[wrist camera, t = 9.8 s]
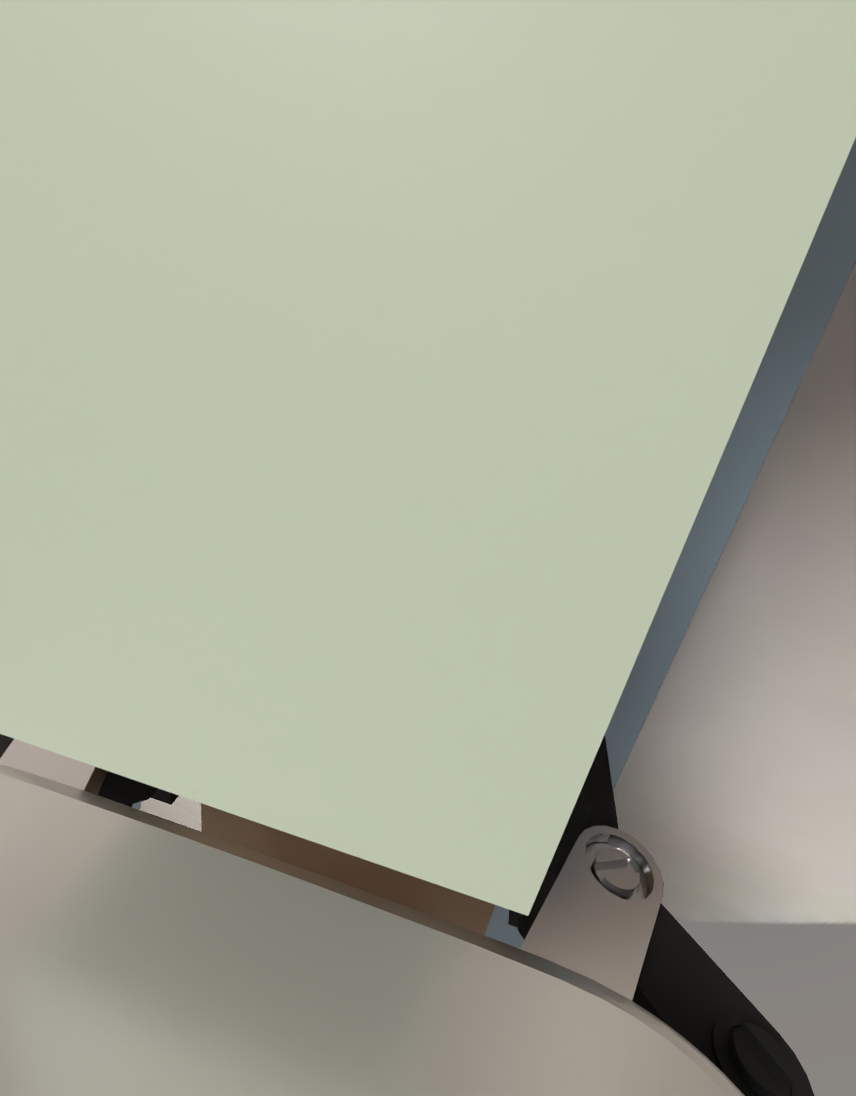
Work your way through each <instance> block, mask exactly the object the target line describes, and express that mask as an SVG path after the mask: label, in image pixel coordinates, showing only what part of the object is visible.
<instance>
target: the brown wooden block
mask: <svg viewBox="0 0 856 1096" xmlns="http://www.w3.org/2000/svg"><path fill="white" fill-rule="evenodd" d="M201 818H202V832H203V833H206V834H208V835H211V836H214V837H217V838H220V839H222V840H225V841H228V842H231V843H233V844H236V845H239V846H242V847H245V848H247V849H250V850H253V851H256V852H259V853H261V854H264V855H267V856H270V857H272V858H275V859H278V860H281V861H284V862H286V863H289V864H292V865H295V866H297V867H300V868H303V869H306V870H308V871H311V872H314V873H317V874H320V875H322V876H325V877H328V878H331V879H333V880H336V881H339V882H342V883H344V884H347V885H350V886H353V887H355V888H358V889H361V890H363V891H366V892H369V893H372V894H374V895H377V896H380V897H383V898H385V899H388V900H391V901H393V902H396V903H399V904H402V905H404V906H407V907H410V908H413V909H415V910H418V911H421V912H423V913H426V914H429V915H432V916H434V917H437V918H440V919H443V920H445V921H448V922H451V923H453V924H456V925H459V926H462V927H464V928H467V929H470V930H472V931H475V932H477V933H480V934H482V935H485V932H486V929H487V927H488V924H489V922H490V919H491V916H492V914H493V911H494V908H495V906H496V905H495V904H492V903H489V902H486V901H483V900H480V899H477V898H474V897H472V896H469V895H466V894H463V893H460V892H457V891H454V890H451V889H448V888H445V887H443V886H440V885H437V884H434V883H431V882H428V881H425V880H422V879H419V878H417V877H414V876H411V875H408V874H405V873H402V872H399V871H396V870H393V869H390V868H388V867H385V866H382V865H379V864H376V863H373V862H370V861H367V860H364V859H361V858H359V857H356V856H353V855H350V854H347V853H344V852H341V851H338V850H335V849H333V848H330V847H327V846H324V845H321V844H318V843H315V842H312V841H309V840H306V839H304V838H301V837H298V836H295V835H292V834H289V833H286V832H283V831H280V830H277V829H275V828H272V827H269V826H266V825H263V824H260V823H257V822H254V821H251V820H249V819H246V818H243V817H240V816H237V815H234V814H231V813H228V812H225V811H222V810H220V809H217V808H214V807H211V806H208V805H205V804H202V803H201Z"/></svg>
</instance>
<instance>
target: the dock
mask: <svg viewBox="0 0 856 1096" xmlns="http://www.w3.org/2000/svg"><path fill="white" fill-rule="evenodd" d="M855 262H856V138H855V140H854V143H853V145H852V147H851V150H850V152H849V155H848V157H847V159H846V162H845V164H844V166H843V169H842V171H841V174H840V176H839V178H838V181H837V183H836V185H835V188H834V190H833V193H832V195H831V197H830V200H829V202H828V204H827V207H826V209H825V212H824V214H823V216H822V219H821V221H820V223H819V226H818V228H817V231H816V233H815V235H814V238H813V240H812V243H811V245H810V247H809V250H808V252H807V254H806V257H805V259H804V262H803V264H802V266H801V269H800V271H799V273H798V276H797V278H796V281H795V283H794V285H793V288H792V290H791V292H790V295H789V297H788V300H787V302H786V304H785V307H784V309H783V311H782V314H781V316H780V319H779V321H778V323H777V326H776V328H775V330H774V333H773V335H772V338H771V340H770V342H769V345H768V347H767V350H766V352H765V354H764V357H763V359H762V361H761V364H760V366H759V369H758V371H757V373H756V376H755V378H754V380H753V383H752V385H751V388H750V390H749V392H748V395H747V397H746V399H745V402H744V404H743V407H742V409H741V411H740V414H739V416H738V418H737V421H736V423H735V426H734V428H733V430H732V433H731V435H730V437H729V440H728V442H727V445H726V447H725V449H724V452H723V454H722V456H721V459H720V461H719V464H718V466H717V468H716V471H715V473H714V476H713V478H712V480H711V483H710V485H709V487H708V490H707V492H706V495H705V497H704V499H703V502H702V504H701V506H700V509H699V511H698V514H697V516H696V518H695V521H694V523H693V525H692V528H691V530H690V533H689V535H688V537H687V540H686V542H685V544H684V547H683V549H682V552H681V554H680V556H679V559H678V561H677V563H676V566H675V568H674V571H673V573H672V575H671V578H670V580H669V583H668V585H667V587H666V590H665V592H664V594H663V597H662V599H661V602H660V604H659V606H658V609H657V611H656V613H655V616H654V618H653V621H652V623H651V625H650V628H649V630H648V632H647V635H646V637H645V640H644V642H643V644H642V647H641V649H640V651H639V654H638V656H637V659H636V661H635V663H634V666H633V668H632V670H631V673H630V675H629V678H628V680H627V682H626V685H625V687H624V689H623V692H622V694H621V697H620V699H619V701H618V704H617V706H616V709H615V711H614V713H613V716H612V718H611V720H610V723H609V725H608V728H607V730H606V732H605V739H606V745H607V753H608V760H609V767H610V774H611V781H612V788H613V789H614V787H615V785H616V782H617V780H618V778H619V776H620V774H621V771H622V769H623V767H624V765H625V763H626V761H627V758H628V756H629V754H630V752H631V750H632V748H633V745H634V743H635V741H636V739H637V737H638V734H639V732H640V730H641V728H642V726H643V724H644V721H645V719H646V717H647V715H648V713H649V711H650V708H651V706H652V704H653V702H654V700H655V697H656V695H657V693H658V691H659V689H660V687H661V684H662V682H663V680H664V678H665V676H666V674H667V671H668V669H669V667H670V665H671V663H672V660H673V658H674V656H675V654H676V652H677V650H678V647H679V645H680V643H681V641H682V639H683V637H684V634H685V632H686V630H687V628H688V626H689V623H690V621H691V619H692V617H693V615H694V613H695V610H696V608H697V606H698V604H699V602H700V600H701V597H702V595H703V593H704V591H705V589H706V586H707V584H708V582H709V580H710V578H711V576H712V573H713V571H714V569H715V567H716V565H717V563H718V560H719V558H720V556H721V554H722V552H723V549H724V547H725V545H726V543H727V541H728V539H729V536H730V534H731V532H732V530H733V528H734V526H735V523H736V521H737V519H738V517H739V515H740V512H741V510H742V508H743V506H744V504H745V502H746V499H747V497H748V495H749V493H750V491H751V489H752V486H753V484H754V482H755V480H756V478H757V475H758V473H759V471H760V469H761V467H762V465H763V462H764V460H765V458H766V456H767V454H768V452H769V449H770V447H771V445H772V443H773V441H774V438H775V436H776V434H777V432H778V430H779V428H780V425H781V423H782V421H783V419H784V417H785V415H786V412H787V410H788V408H789V406H790V404H791V402H792V399H793V397H794V395H795V393H796V391H797V388H798V386H799V384H800V382H801V380H802V378H803V375H804V373H805V371H806V369H807V367H808V365H809V362H810V360H811V358H812V356H813V354H814V351H815V349H816V347H817V345H818V343H819V341H820V338H821V336H822V334H823V332H824V330H825V328H826V325H827V323H828V321H829V319H830V317H831V314H832V312H833V310H834V308H835V306H836V304H837V301H838V299H839V297H840V295H841V293H842V291H843V288H844V286H845V284H846V282H847V280H848V277H849V275H850V273H851V271H852V269H853V267H854V264H855ZM508 920H509V909H506V908H503V907H501V906H498V905H496V906H495V908H494V911H493V914H492V916H491V919H490V922H489V924H488V927H487V929H486V932H485V936H488V937H490V938H493V939H495V940H498V941H501V942H503V943H506V944H509V945H511V946H514V947H517V948H521V946H522V944H523V942H524V939H523V938H522V936H521V935H520V933H519V932H518V928H517V927H514V926H511V925H509V924H508Z"/></svg>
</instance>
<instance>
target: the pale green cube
mask: <svg viewBox="0 0 856 1096" xmlns="http://www.w3.org/2000/svg"><path fill="white" fill-rule="evenodd" d="M855 138H856V0H0V734H2V735H5V736H8V737H11V738H14V739H17V740H20V741H23V742H25V743H28V744H31V745H34V746H37V747H40V748H43V749H46V750H49V751H52V752H54V753H57V754H60V755H63V756H66V757H69V758H72V759H75V760H78V761H81V762H83V763H86V764H89V765H92V766H95V767H98V768H101V769H104V770H107V771H109V772H112V773H115V774H118V775H121V776H124V777H127V778H130V779H133V780H136V781H138V782H141V783H144V784H147V785H150V786H153V787H156V788H159V789H162V790H165V791H167V792H170V793H173V794H176V795H179V796H182V797H185V798H188V799H191V800H193V801H196V802H199V803H202V804H205V805H208V806H211V807H214V808H217V809H220V810H222V811H225V812H228V813H231V814H234V815H237V816H240V817H243V818H246V819H249V820H251V821H254V822H257V823H260V824H263V825H266V826H269V827H272V828H275V829H277V830H280V831H283V832H286V833H289V834H292V835H295V836H298V837H301V838H304V839H306V840H309V841H312V842H315V843H318V844H321V845H324V846H327V847H330V848H333V849H335V850H338V851H341V852H344V853H347V854H350V855H353V856H356V857H359V858H361V859H364V860H367V861H370V862H373V863H376V864H379V865H382V866H385V867H388V868H390V869H393V870H396V871H399V872H402V873H405V874H408V875H411V876H414V877H417V878H419V879H422V880H425V881H428V882H431V883H434V884H437V885H440V886H443V887H445V888H448V889H451V890H454V891H457V892H460V893H463V894H466V895H469V896H472V897H474V898H477V899H480V900H483V901H486V902H489V903H492V904H495V905H498V906H501V907H503V908H506V909H509V910H512V911H515V912H518V913H521V914H524V915H527V916H528V915H529V913H530V911H531V908H532V906H533V903H534V901H535V899H536V896H537V894H538V892H539V889H540V887H541V884H542V882H543V880H544V877H545V875H546V873H547V870H548V868H549V865H550V863H551V861H552V858H553V856H554V854H555V851H556V849H557V846H558V844H559V842H560V839H561V837H562V835H563V832H564V830H565V827H566V825H567V823H568V820H569V818H570V816H571V813H572V811H573V808H574V806H575V804H576V801H577V799H578V796H579V794H580V792H581V789H582V787H583V785H584V782H585V780H586V777H587V775H588V773H589V770H590V768H591V766H592V763H593V761H594V758H595V756H596V754H597V751H598V749H599V747H600V744H601V742H602V739H603V737H604V735H605V732H606V730H607V728H608V725H609V723H610V720H611V718H612V716H613V713H614V711H615V709H616V706H617V704H618V701H619V699H620V697H621V694H622V692H623V689H624V687H625V685H626V682H627V680H628V678H629V675H630V673H631V670H632V668H633V666H634V663H635V661H636V659H637V656H638V654H639V651H640V649H641V647H642V644H643V642H644V640H645V637H646V635H647V632H648V630H649V628H650V625H651V623H652V621H653V618H654V616H655V613H656V611H657V609H658V606H659V604H660V602H661V599H662V597H663V594H664V592H665V590H666V587H667V585H668V583H669V580H670V578H671V575H672V573H673V571H674V568H675V566H676V563H677V561H678V559H679V556H680V554H681V552H682V549H683V547H684V544H685V542H686V540H687V537H688V535H689V533H690V530H691V528H692V525H693V523H694V521H695V518H696V516H697V514H698V511H699V509H700V506H701V504H702V502H703V499H704V497H705V495H706V492H707V490H708V487H709V485H710V483H711V480H712V478H713V476H714V473H715V471H716V468H717V466H718V464H719V461H720V459H721V456H722V454H723V452H724V449H725V447H726V445H727V442H728V440H729V437H730V435H731V433H732V430H733V428H734V426H735V423H736V421H737V418H738V416H739V414H740V411H741V409H742V407H743V404H744V402H745V399H746V397H747V395H748V392H749V390H750V388H751V385H752V383H753V380H754V378H755V376H756V373H757V371H758V369H759V366H760V364H761V361H762V359H763V357H764V354H765V352H766V350H767V347H768V345H769V342H770V340H771V338H772V335H773V333H774V330H775V328H776V326H777V323H778V321H779V319H780V316H781V314H782V311H783V309H784V307H785V304H786V302H787V300H788V297H789V295H790V292H791V290H792V288H793V285H794V283H795V281H796V278H797V276H798V273H799V271H800V269H801V266H802V264H803V262H804V259H805V257H806V254H807V252H808V250H809V247H810V245H811V243H812V240H813V238H814V235H815V233H816V231H817V228H818V226H819V223H820V221H821V219H822V216H823V214H824V212H825V209H826V207H827V204H828V202H829V200H830V197H831V195H832V193H833V190H834V188H835V185H836V183H837V181H838V178H839V176H840V174H841V171H842V169H843V166H844V164H845V162H846V159H847V157H848V155H849V152H850V150H851V147H852V145H853V143H854V140H855Z"/></svg>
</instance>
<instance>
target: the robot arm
mask: <svg viewBox="0 0 856 1096" xmlns="http://www.w3.org/2000/svg"><path fill="white" fill-rule="evenodd" d="M178 796H179V795H176V794H173V793H170V792H167V791H165V790H162V789H159V788H156V787H153V786H150V785H147V784H144V783H141V782H138V781H136V780H133V779H130V778H127V777H124V776H121V775H118V774H115V773H112V772H109V771H107V770H104V769H101V768H98V767H95V766H92V765H89V764H86V763H83V762H81V761H78V760H75V759H72V758H69V757H66V756H63V755H60V754H57V753H54V752H52V751H49V750H46V749H43V748H40V747H37V746H34V745H31V744H28V743H25V742H23V741H20V740H17V739H14V738H11V737H8V736H5V735H2V734H0V1096H814V1094H813V1091H812V1088H811V1085H810V1082H809V1080H808V1077H807V1075H806V1073H805V1071H804V1069H803V1068H802V1066H801V1064H800V1062H799V1061H798V1059H797V1057H796V1055H795V1054H794V1052H793V1051H792V1050H791V1048H790V1047H789V1046H788V1044H787V1043H786V1042H785V1041H784V1039H783V1038H782V1037H781V1035H780V1034H779V1033H778V1032H777V1031H776V1030H775V1029H774V1027H772V1025H771V1024H770V1023H769V1022H768V1021H767V1020H766V1019H765V1018H764V1016H763V1015H762V1014H761V1013H760V1012H759V1011H758V1010H757V1009H756V1008H755V1007H754V1005H753V1004H752V1003H751V1002H750V1001H749V1000H748V999H747V998H746V997H745V996H744V994H743V993H742V992H741V991H740V990H739V989H738V988H737V987H736V986H735V984H734V983H733V982H732V981H731V980H730V979H729V978H728V977H727V976H726V975H725V973H724V972H723V971H722V970H721V969H720V968H719V967H718V966H717V965H716V964H715V962H714V961H713V960H712V959H711V958H710V957H709V956H708V955H707V954H706V953H705V951H703V949H702V948H701V947H700V946H699V945H698V944H697V943H696V941H694V939H693V938H692V937H691V936H690V935H689V934H688V933H687V932H686V931H685V929H684V928H683V927H682V926H681V925H680V924H679V923H678V922H677V920H676V919H675V918H674V917H673V916H672V915H671V914H670V913H669V912H668V911H667V909H666V908H665V907H664V906H663V905H662V904H661V900H662V897H663V887H664V883H663V879H662V875H661V872H660V869H659V867H658V866H657V864H656V862H655V860H654V858H653V857H652V856H651V855H650V853H649V852H648V851H647V850H646V849H645V848H644V846H643V845H641V844H640V843H639V842H638V841H636V840H635V839H634V838H633V837H632V836H630V835H628V834H626V833H624V832H622V831H621V830H619V829H618V823H617V816H616V809H615V802H614V795H613V788H612V781H611V774H610V767H609V760H608V753H607V745H606V739H605V735H604V737H603V739H602V742H601V744H600V747H599V749H598V751H597V754H596V756H595V758H594V761H593V763H592V766H591V768H590V770H589V773H588V775H587V777H586V780H585V782H584V785H583V787H582V789H581V792H580V794H579V796H578V799H577V801H576V804H575V806H574V808H573V811H572V813H571V816H570V818H569V820H568V823H567V825H566V827H565V830H564V832H563V835H562V837H561V839H560V842H559V844H558V846H557V849H556V851H555V854H554V856H553V858H552V861H551V863H550V865H549V868H548V870H547V873H546V875H545V877H544V880H543V882H542V884H541V887H540V889H539V892H538V894H537V896H536V899H535V901H534V903H533V906H532V908H531V911H530V913H529V915H528V916H527V915H524V914H521V913H518V912H515V911H512V910H509V920H508V924H509V925H511V926H514V927H517V928H518V932H519V933H520V935H521V936H522V938H523V939H524V942H523V944H522V946H521V948H520V949H519V948H516V947H513V946H511V945H508V944H506V943H503V942H501V941H498V940H495V939H493V938H490V937H488V936H485V935H482V934H480V933H477V932H475V931H472V930H470V929H467V928H464V927H462V926H459V925H456V924H453V923H451V922H448V921H445V920H443V919H440V918H437V917H434V916H432V915H429V914H426V913H423V912H421V911H418V910H415V909H413V908H410V907H407V906H404V905H402V904H399V903H396V902H393V901H391V900H388V899H385V898H383V897H380V896H377V895H374V894H372V893H369V892H366V891H363V890H361V889H358V888H355V887H353V886H350V885H347V884H344V883H342V882H339V881H336V880H333V879H331V878H328V877H325V876H322V875H320V874H317V873H314V872H311V871H308V870H306V869H303V868H300V867H297V866H295V865H292V864H289V863H286V862H284V861H281V860H278V859H275V858H272V857H270V856H267V855H264V854H261V853H259V852H256V851H253V850H250V849H247V848H245V847H242V846H239V845H236V844H233V843H231V842H228V841H225V840H222V839H220V838H217V837H214V836H211V835H208V834H206V833H203V832H200V831H197V830H194V829H192V828H189V827H186V826H183V825H180V824H177V823H175V822H172V821H169V820H166V819H163V818H160V817H158V816H155V815H152V814H149V813H146V812H143V811H141V810H139V809H140V806H141V802H142V801H144V800H147V799H149V798H150V797H151V798H154V799H157V800H159V801H162V802H165V803H168V804H172V803H173V802H174V801H175V800H176V798H177V797H178Z"/></svg>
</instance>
